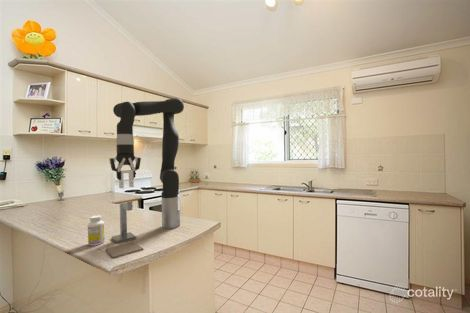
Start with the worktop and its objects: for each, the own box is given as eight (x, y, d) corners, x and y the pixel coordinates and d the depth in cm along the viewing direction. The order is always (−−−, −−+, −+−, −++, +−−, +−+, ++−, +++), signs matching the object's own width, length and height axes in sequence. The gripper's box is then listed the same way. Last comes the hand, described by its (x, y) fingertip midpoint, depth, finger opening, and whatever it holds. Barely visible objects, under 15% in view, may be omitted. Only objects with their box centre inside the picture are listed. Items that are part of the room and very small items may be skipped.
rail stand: (130, 234, 120) (129, 196, 120) (140, 242, 108) (139, 200, 108) (111, 238, 114) (110, 199, 114) (120, 247, 102) (119, 203, 102)
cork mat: (134, 242, 108) (134, 241, 108) (143, 249, 99) (143, 248, 99) (105, 249, 100) (105, 248, 100) (112, 258, 91) (112, 256, 91)
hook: (130, 186, 112) (130, 169, 112) (133, 187, 109) (133, 170, 109) (119, 187, 109) (118, 170, 109) (121, 188, 106) (121, 170, 106)
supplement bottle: (98, 240, 112) (97, 214, 112) (107, 241, 110) (107, 215, 110) (84, 245, 106) (84, 217, 106) (94, 247, 104) (93, 218, 104)
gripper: (137, 144, 117) (138, 177, 117) (106, 144, 107) (107, 180, 107) (143, 143, 111) (144, 178, 111) (110, 143, 101) (111, 181, 101)
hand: (126, 179), depth 109 cm, fingers closed on hook, 5 cm apart
